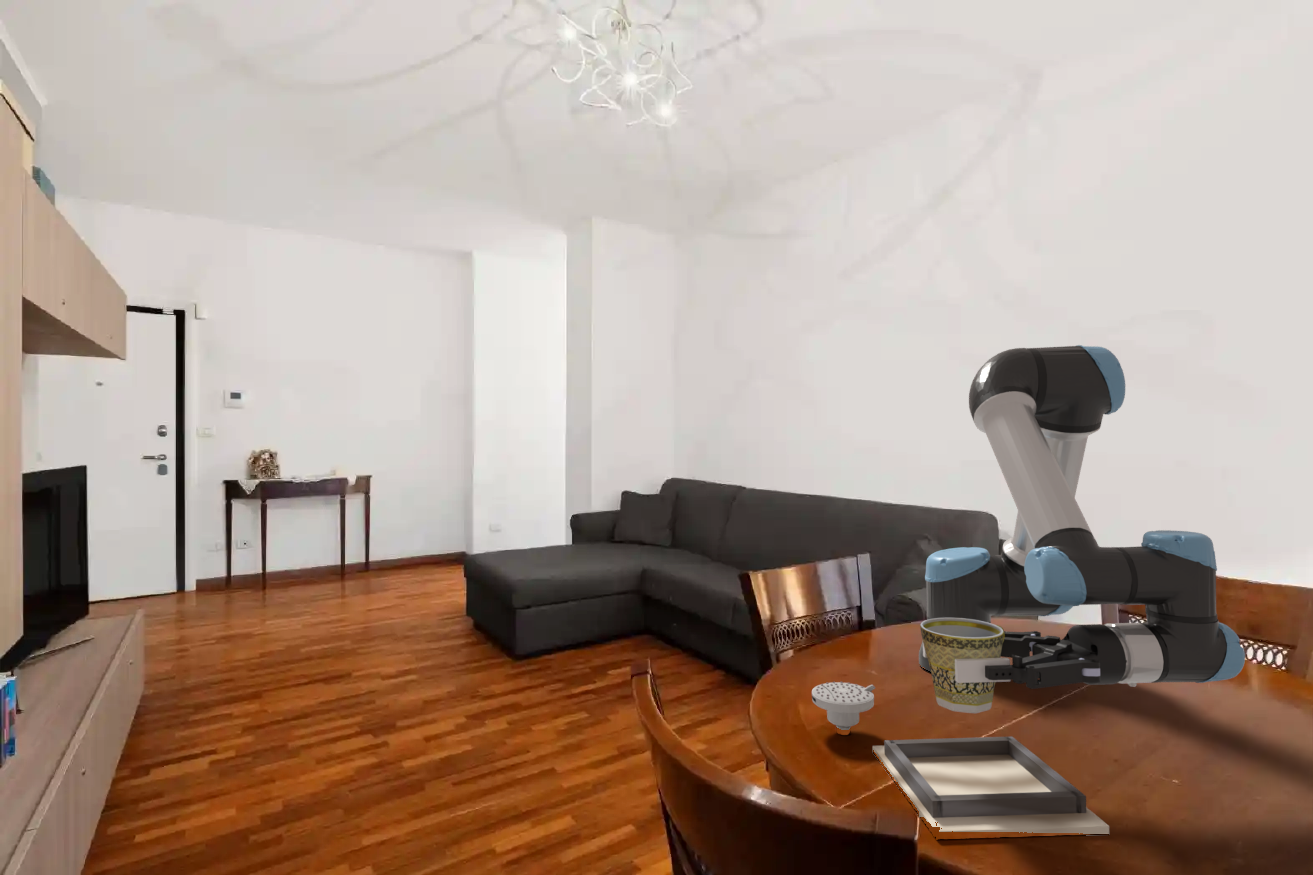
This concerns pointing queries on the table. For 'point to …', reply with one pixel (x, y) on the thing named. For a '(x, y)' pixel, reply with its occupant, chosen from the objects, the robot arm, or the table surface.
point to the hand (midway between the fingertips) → (939, 658)
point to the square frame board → (986, 787)
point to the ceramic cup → (960, 642)
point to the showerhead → (843, 702)
